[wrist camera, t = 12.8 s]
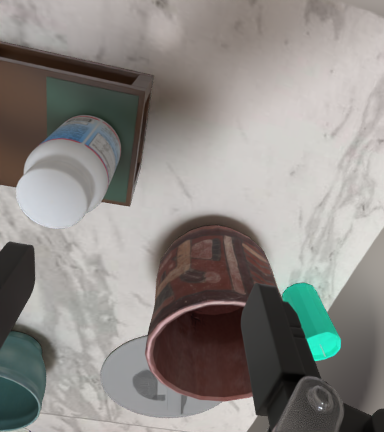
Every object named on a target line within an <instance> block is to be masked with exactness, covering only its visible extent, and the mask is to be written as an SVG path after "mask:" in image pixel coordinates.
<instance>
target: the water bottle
mask: <svg viewBox="0 0 384 432" xmlns="http://www.w3.org/2000/svg"><path fill="white" fill-rule="evenodd" d="M3 432H30V431H29V430H27V429H25V428H21V429H18V430H13V431H3Z"/></svg>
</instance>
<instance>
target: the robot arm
mask: <svg viewBox="0 0 384 432" xmlns="http://www.w3.org/2000/svg"><path fill="white" fill-rule="evenodd" d="M34 284H35V257H34V247H33V246H32V245H27V244H21V243H15V242H8V243H7V244H6V245H5V246H4V247H3V249H2V250H1V251H0V349H1V347H2V346H3V344H4V342H5V340H6V338H7V337H8V335H9V333H10V331H11V330H12V328H13V326H14V324H15V322H16V321H17V319H18V317H19V315H20V314H21V312H22V310H23V308H24V306H25V305H26V303H27V301H28V299H29V298H30V296H31V294H32V291H33V288H34ZM301 327H302V325H301V323H300V320H299V317H298V315H297V313H296V312H295V310H294V309H293V308H292V307H291V305H290V304H289V303H288V302H285V301H282V300H281V297H280V294H279V291H278V289H277V287H276V286H273V285H266V284H260V283H255V284H254V286H253V288H252V290H251V293H250V295H249V297H248V300H247V302H246V304H245V306H244V309H243V311H242V316H241V330H242V336H243V342H244V347H245V353H246V359H247V365H248V371H249V377H250V382H251V388H252V394H253V400H254V406H255V411H256V415H261V416H268V420H269V425H270V426H269V427H268V429H267V431H266V432H384V409H379V410H377V411H376V412H375V413H374V414H373V415H372V416H371V415H369V414H366V413H364V412H362V411H360V410H358V409H355V408H353V407H351V406H349V405H347V404H344V403H343V402H342V400H341V398H340V396H339V395H338V393H337V392H336V391H335V390H334V388H333V387H332V386H330V385H329V384H328V383H327V382H325V381H323V380H322V379H321V377H320V374H319V372H318V369H317V366H316V363H315V361H314V358H313V355H312V353H311V350H310V347H309V344H308V342H307V339H305V334H304V331H303V329H302V328H301Z"/></svg>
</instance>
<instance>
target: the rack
mask: <svg viewBox="0 0 384 432" xmlns="http://www.w3.org/2000/svg"><path fill="white" fill-rule="evenodd" d="M153 78H154V76H153V75H149V74H145V73H140V72H136V71H131V70H127V69H122V68H118V67H113V66H109V65H104V64H100V63H95V62H91V61H86V60H82V59H77V58H73V57H69V56H64V55H60V54H55V53H51V52H46V51H42V50H37V49H33V48H28V47H24V46H19V45H15V44H10V43H6V42H1V41H0V185H5V186H11V187H17V184H18V182H19V180H20V179H21V177H22V176H23V175H24V166H25V162H26V160H27V158H28V156H29V155H30V154H31V152H32V151H33V150H34V149H35V148H36V147H37V146H39V145H40V144H41V143H42V142H43V141H44V140H45V139H46V138H48V137H49V136H50V135H51V134H52V133H53V132H54V131H55V130H56V129H58V128H59V127H60V126H61V125H62V124H63V123H64V122H66V121H67V120H69V119H70V118H72V117H75V116H79V115H90V116H94V117H97V118H100V119H102V120H103V121H105V122H106V123H108V124H109V125H110V126H111V127H112V128H113V129H114V130H115V132H116V134H117V135H118V137H119V140H120V144H121V155H120V159H119V162H118V165H117V167H116V170H115V172H114V175H113V177H112V179H111V182H110V184H109V187H108V189H107V192H106V194H105V196H104V198H103V200H102V201H101V202H106V203H112V204H118V205H123V206H130V205H131V201H132V197H133V194H134V190H135V187H136V183H137V180H138V176H139V172H140V168H141V161H142V154H143V147H144V141H145V134H146V127H147V120H148V113H149V106H150V99H151V92H152V85H153Z"/></svg>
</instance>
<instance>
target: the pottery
mask: <svg viewBox="0 0 384 432" xmlns="http://www.w3.org/2000/svg"><path fill="white" fill-rule="evenodd" d="M255 283H260V284H266V285H273V286H276V287H277V284H276V281H275V278H274V275H273V272H272V269H271V267H270V264H269V262H268V260H267V258H266V255H265V253H264V251H263V250H262V249H261V248H260V247H259V246H258V245H257V244H256V243H255V242H254V241H253V240H252V239H251V238H250V237H248V236H246V235H244V234H242V233H240V232H238V231H235V230H233V229H231V228H229V227H223V226H218V225H211V226H202V227H199V228H196V229H193V230H190V231H189V232H187V233H185V234H184V235H182V236H181V237H179V238H178V239H177V240H176V241H174V242H173V244H172V245H171V246H170V248H169V249H168V250H167V252H166V253H165V254H164V256H163V257H162V259H161V262H160V267H159V271H158V275H157V280H156V295H155V306H154V311H153V315H152V319H151V323H150V326H149V331H148V337H147V342H146V348H145V356H146V360H147V363H148V366H149V369H150V371H151V372H152V373H153V375H154V376H155V377H156V378H157V379H158V380H159V382H160V383H162V384H163V385H165V386H167V387H168V388H170V389H171V390H173V391H175V392H176V393H179V394H182V395H185V396H188V397H192V398H195V399H198V400H209V401H230V400H237V399H243V398H250V397H252V396H253V394H252V388H251V382H250V377H249V371H248V365H247V359H246V353H245V347H244V342H243V336H242V330H241V316H242V311H243V309H244V306H245V304H246V302H247V300H248V297H249V295H250V293H251V290H252V288H253V286H254V284H255ZM277 289H278V287H277ZM278 291H279V290H278ZM279 294H280V292H279ZM280 297H281V294H280ZM281 300H282V301H283V299H282V297H281Z"/></svg>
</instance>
